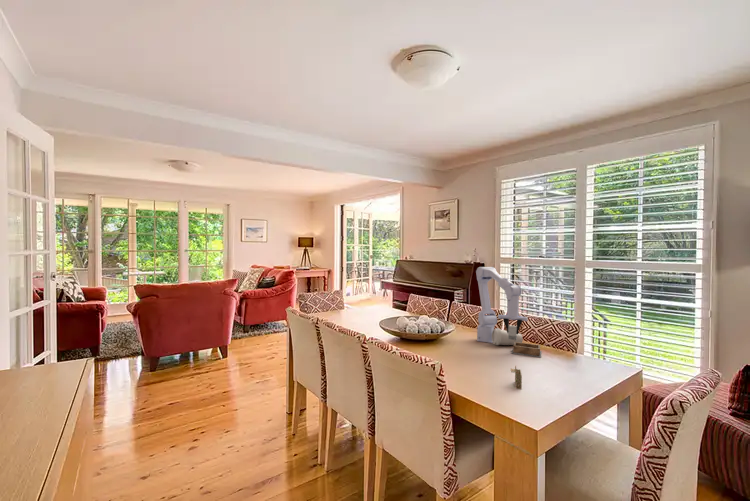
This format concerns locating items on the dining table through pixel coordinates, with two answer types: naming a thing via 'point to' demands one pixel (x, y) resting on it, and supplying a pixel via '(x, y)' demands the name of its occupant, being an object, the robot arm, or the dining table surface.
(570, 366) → the dining table surface
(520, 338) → the coffee cup
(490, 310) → the robot arm
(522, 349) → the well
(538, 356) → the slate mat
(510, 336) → the brushed aluminum block
